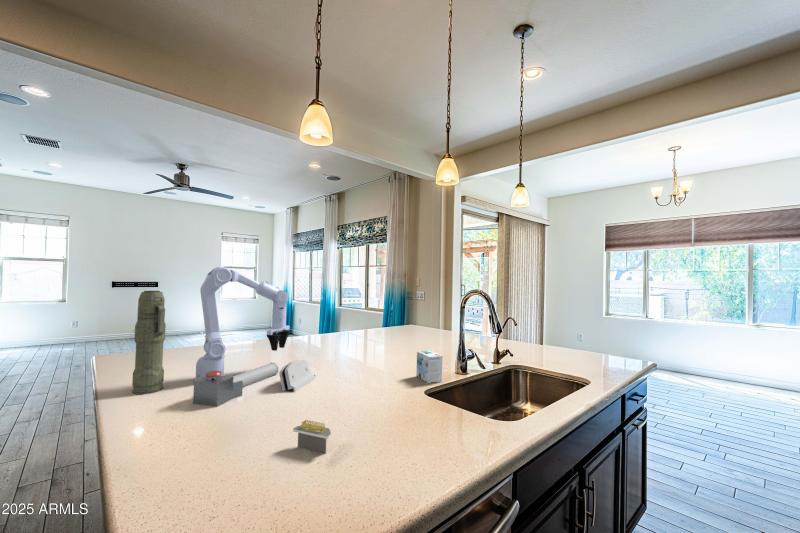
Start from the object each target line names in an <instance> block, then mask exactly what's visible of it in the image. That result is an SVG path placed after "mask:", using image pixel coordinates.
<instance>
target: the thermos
mask: <svg viewBox="0 0 800 533" xmlns="http://www.w3.org/2000/svg"><path fill="white" fill-rule="evenodd" d="M137 300H138V303H137V321H136V323H135V325H134V339H133V340H134V343H135V356H134V359H135V360H134V370H133V372H132V383H131V384H132V394H133V395H149V394H154V393H157V392H160V391H162V390H163V388H164V387H163V384H164V383H163V382H164V378H165V370H164V366H163V357H164V356H163V355H164V354H163V353H164V341H165V340H166V328H167V326H166V322H165V318H166V316H165V315H166V309H165V301H166V300H165V296H164V293H163V291H160V290H143V291H141V293H140V295H139V297H138V299H137Z"/></svg>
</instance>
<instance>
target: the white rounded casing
mask: <svg viewBox="0 0 800 533" xmlns="http://www.w3.org/2000/svg"><path fill="white" fill-rule="evenodd" d="M278 374H279V380H280V383H281V389H282V392H285V391H287V390H293V392H294V393H297V392H298V391H299V390H301V389H302V388H304V387H306V386H307V385H308V384H310V383H312V382H313V381H315V380H316V376H315V374H313V373H312V372H311V370H310V366H309V363H308V361H307V360H305V359H297V360H294V361H290V362H288V363H287V364H285V365H284V366H283V367H281V369H280V370H279V371H278ZM314 379H315V380H314ZM311 381H312V382H311Z"/></svg>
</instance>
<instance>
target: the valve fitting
mask: <svg viewBox="0 0 800 533" xmlns="http://www.w3.org/2000/svg"><path fill="white" fill-rule="evenodd" d="M220 375H221V371H210V372H207V373H205V376H206V377H203V378H200V379H198V380H196V379H194V380H195V381H194V380H193V394H192V396H193V397H192V404H193V405H199V406H200V405H201V406H207V407H208V406H209V407H216V408H217V407H220V406H221V405H223V404H226V403H227V402H229V401H231V400H233V399H236V398H239V397H243V389H244V387H243V381H238V382H234V383H233V376H227V375H224V376H220Z"/></svg>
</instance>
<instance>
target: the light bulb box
mask: <svg viewBox="0 0 800 533" xmlns="http://www.w3.org/2000/svg"><path fill="white" fill-rule="evenodd" d="M415 373H416V374H415V376H416V377H417V376H418V377H419V378H418V377H417V378H418V379H420V378H421V379H420V380H422V379H423V380H424V381H423V380H422V381H423V382H425V381H426V382H427V383H426V382H425V383H426V384H432V383H431V382H437V383H442V382H443V355H442V354H439V353H438V352H434V351H433V350H417V352H416V372H415Z"/></svg>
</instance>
